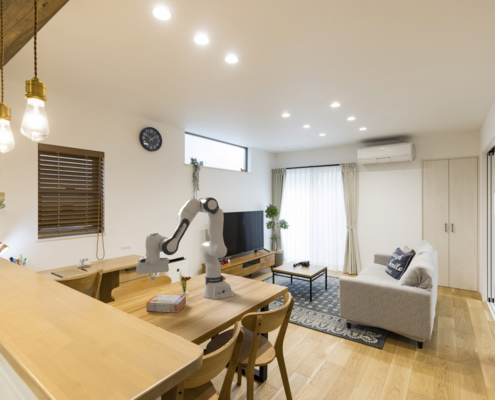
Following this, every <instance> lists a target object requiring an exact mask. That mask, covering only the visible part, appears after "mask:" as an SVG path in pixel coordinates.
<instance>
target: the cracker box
mask: <svg viewBox="0 0 495 400" xmlns="http://www.w3.org/2000/svg"><path fill="white" fill-rule="evenodd" d="M186 298H187V297H186V295H182V294H181V295H178V294H177V295H176V294H155V295H154V296H153V297H151V298H150V299H149V300H148V301H146V304H145V305H146V312H156V313H157V312H158V313H176V314H177V313H179V312H180V311H181V310H182V308H183V307H184V306H186V304H187V300H186Z"/></svg>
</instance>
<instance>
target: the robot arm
mask: <svg viewBox="0 0 495 400" xmlns="http://www.w3.org/2000/svg"><path fill="white" fill-rule="evenodd" d="M198 213H206V214H207V215H208V221H207V233H206V234H207V235H208V237H209V240H206V241H203V242H202V243H201V245H200V252H201V254H202V255H203V259H204V263H205V276H204V277H205V278H204V285H205V288H204V292H203V297H204V298H206V299H213V300H220V299H226V298H230V297H234V296H235V295H236V294H235V291H233V290H232V287H231V284H230V283H228V282H227V281H225V280H226V276H224V275H222V265H221V262H220V261H219V259H223V258H225V257H226V255H227V252H228V248H227V247H226V244H225V241H224V234H223V233H224V221H225V220H224V219H225V218H224V210H223V209H222V208H220V206H219V202H218V200H217V199H215V197H210V196H209V197H208V196H207V197H202V198H199V199H197V198H194V197H191V198H189V199H188V200H187V201H186V202H185V204H183V206H182V207H181V208H180V209H179V211H178V213H177V217H176V219H177V225H176V229H175V230H174V231H173V233H172V235H171V236H170V237H167V236H164V235H161V234H159V233H158V232H154V233H150V234H148V235H147V236H146V237H145V255H144V256H141V257H139V258H137V259H138V261H137V262H138V263H137V264H136V267H135V268H136V269H135V273H136V274H137V275H143V274H144V275H145V274H148V276H149V279H150V280H151V281H155V280H156V276H157V274H158V273H159V274H160V273H167V272H169V271H170V268H169V263H170V258H168V257H161V255H160V254H161V252H163V253H164V254H165V255H167V256H173V255H174V254H176V253H177V252H178V250H179V246H180V243H181V240H182V239H183V237H184V235H185V233H186V232H187V230H188V228H189V227H190V225H191V223H192V222H193V220H194V219H195V218H196V216H197V215H198ZM152 274H154V275H152Z"/></svg>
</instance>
